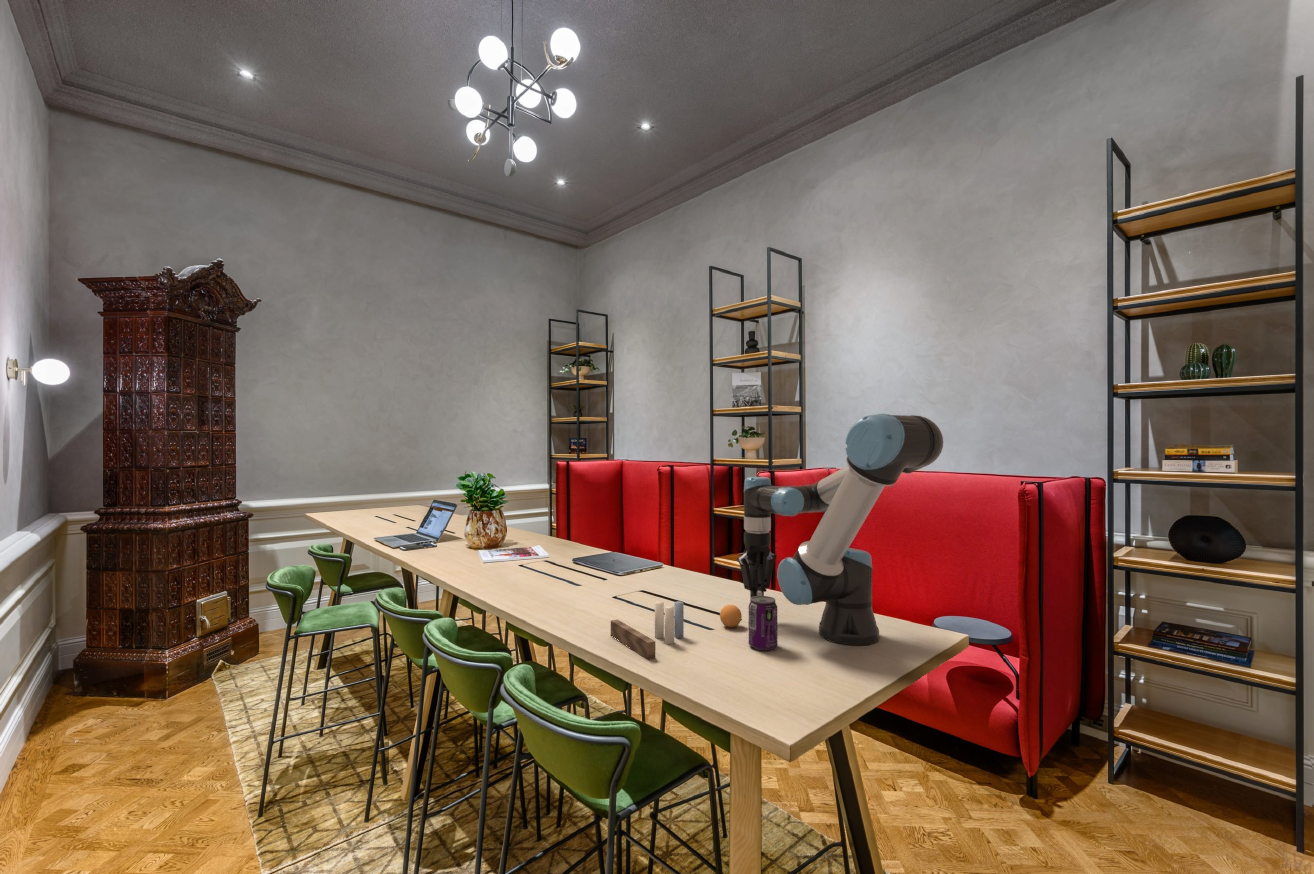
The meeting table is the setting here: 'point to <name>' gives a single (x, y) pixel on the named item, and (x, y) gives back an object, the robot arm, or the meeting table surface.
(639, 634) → the walnut rail
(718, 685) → the meeting table surface
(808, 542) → the robot arm
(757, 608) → the beverage can
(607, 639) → the meeting table surface
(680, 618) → the front pin
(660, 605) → the rear pin right
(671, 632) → the rear pin left
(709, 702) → the meeting table surface
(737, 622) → the ball
